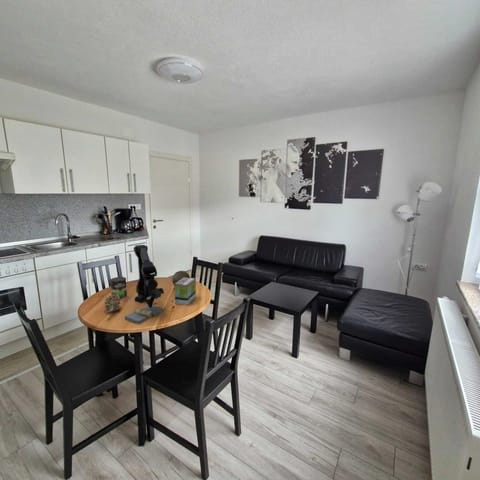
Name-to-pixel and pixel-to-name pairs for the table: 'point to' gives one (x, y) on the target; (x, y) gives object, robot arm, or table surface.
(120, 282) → the coffee can
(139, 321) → the slate board
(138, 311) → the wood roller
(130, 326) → the table surface
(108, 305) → the pine cone
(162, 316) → the table surface
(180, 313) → the table surface
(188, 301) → the tea box
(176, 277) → the cantaloupe
